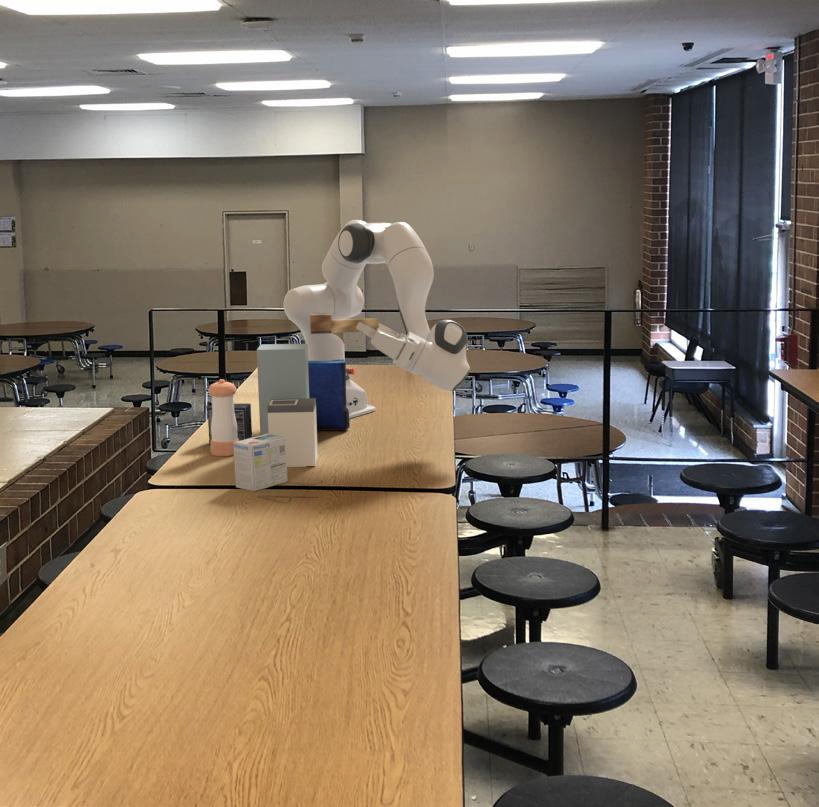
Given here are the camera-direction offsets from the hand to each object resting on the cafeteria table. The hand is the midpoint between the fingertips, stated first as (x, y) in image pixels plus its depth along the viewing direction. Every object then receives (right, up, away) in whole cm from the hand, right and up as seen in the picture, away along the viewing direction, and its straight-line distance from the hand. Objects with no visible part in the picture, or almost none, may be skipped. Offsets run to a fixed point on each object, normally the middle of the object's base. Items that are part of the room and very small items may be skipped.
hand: (357, 323), depth 273 cm
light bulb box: (-21, -38, -18) cm, 47 cm away
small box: (-35, -30, +25) cm, 53 cm away
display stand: (-19, -32, +16) cm, 40 cm away
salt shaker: (-35, -32, +14) cm, 49 cm away
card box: (-16, -34, +3) cm, 38 cm away
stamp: (-3, -2, 0) cm, 4 cm away
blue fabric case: (-11, -27, +39) cm, 49 cm away
